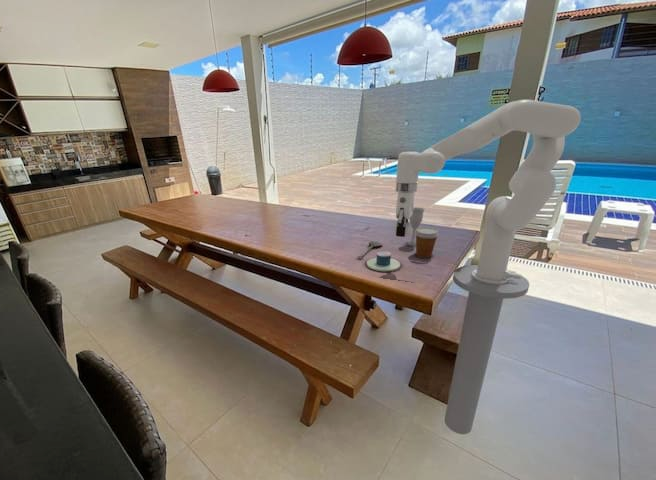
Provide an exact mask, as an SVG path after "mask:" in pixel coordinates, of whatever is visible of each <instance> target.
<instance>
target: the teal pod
mask: <svg viewBox="0 0 656 480" xmlns="http://www.w3.org/2000/svg"><path fill="white" fill-rule="evenodd" d="M376 258H377V260H376V263H377V264H378V265H381V266H387V265H390V260H391V258H392V253H391V252H389V251H381V250H380V251H377V252H376Z"/></svg>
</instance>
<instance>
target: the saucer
mask: <svg viewBox="0 0 656 480" xmlns="http://www.w3.org/2000/svg"><path fill="white" fill-rule="evenodd" d="M376 260H377V257H371V258H369V259H368V260H367V261H366V267H367V268H369V269H371V270H373V271H377V272H394V271H397V270H398V269H400V268H401V262H400V261H398V260H396V259H395V258H392V257H391V260H390V265H387V266H381V265H378V264H377V263H376Z"/></svg>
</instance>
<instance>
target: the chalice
mask: <svg viewBox="0 0 656 480" xmlns="http://www.w3.org/2000/svg"><path fill="white" fill-rule="evenodd" d="M424 212H425V209H424V208H423V207H413V214H412V216H411V217H410V219H408V221H409V224H410V227H411V228H412V229H413V230H412V235H411V236H412V237H411V239H410V240H408V242H407V244H408V245H409V246H416V233H415V232H416V230H417V229H418V228H419V227H420V225H421V223H422V222H423V218H424V217H423V216H424Z"/></svg>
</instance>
